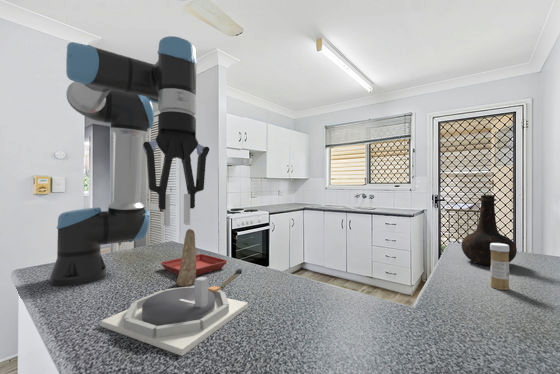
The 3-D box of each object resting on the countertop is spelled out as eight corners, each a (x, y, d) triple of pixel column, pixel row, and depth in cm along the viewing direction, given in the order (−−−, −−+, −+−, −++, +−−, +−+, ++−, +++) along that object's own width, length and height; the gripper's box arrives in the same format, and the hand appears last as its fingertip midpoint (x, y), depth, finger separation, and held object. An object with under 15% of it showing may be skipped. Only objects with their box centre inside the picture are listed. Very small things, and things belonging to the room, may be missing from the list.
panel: (100, 326, 58) (101, 309, 59) (179, 291, 79) (179, 279, 79) (182, 356, 48) (182, 335, 48) (248, 306, 68) (248, 292, 68)
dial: (125, 317, 59) (126, 279, 60) (180, 292, 74) (181, 262, 74) (178, 334, 53) (178, 292, 53) (228, 303, 67) (228, 269, 67)
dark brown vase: (470, 267, 103) (470, 195, 103) (455, 256, 120) (455, 194, 120) (527, 272, 98) (527, 195, 98) (502, 259, 115) (502, 194, 115)
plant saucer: (159, 270, 100) (159, 261, 100) (201, 261, 113) (201, 253, 113) (184, 281, 88) (184, 271, 88) (228, 269, 102) (228, 260, 102)
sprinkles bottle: (496, 284, 85) (496, 242, 85) (513, 289, 80) (512, 244, 80) (486, 286, 83) (486, 243, 83) (503, 291, 79) (503, 246, 79)
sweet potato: (178, 290, 81) (198, 287, 84) (182, 233, 79) (203, 232, 82) (173, 281, 86) (193, 278, 90) (178, 227, 84) (197, 226, 88)
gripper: (134, 103, 50) (134, 229, 49) (220, 116, 58) (220, 224, 58) (132, 113, 56) (132, 225, 56) (210, 123, 65) (209, 220, 64)
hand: (177, 224), depth 57 cm, fingers open, 3 cm apart
